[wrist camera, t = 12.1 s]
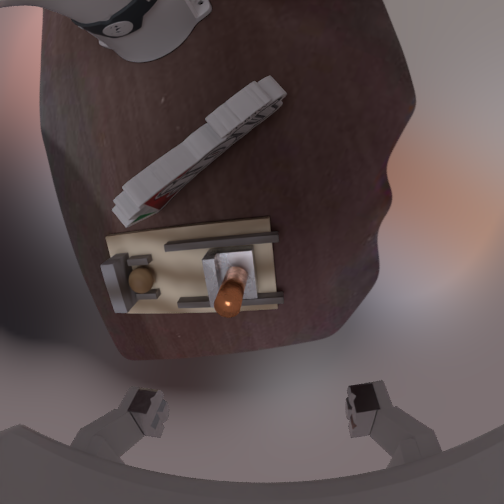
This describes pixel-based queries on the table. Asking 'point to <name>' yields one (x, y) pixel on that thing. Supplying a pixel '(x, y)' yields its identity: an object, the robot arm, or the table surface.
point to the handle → (230, 278)
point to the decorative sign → (197, 151)
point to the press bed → (186, 265)
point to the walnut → (141, 280)
